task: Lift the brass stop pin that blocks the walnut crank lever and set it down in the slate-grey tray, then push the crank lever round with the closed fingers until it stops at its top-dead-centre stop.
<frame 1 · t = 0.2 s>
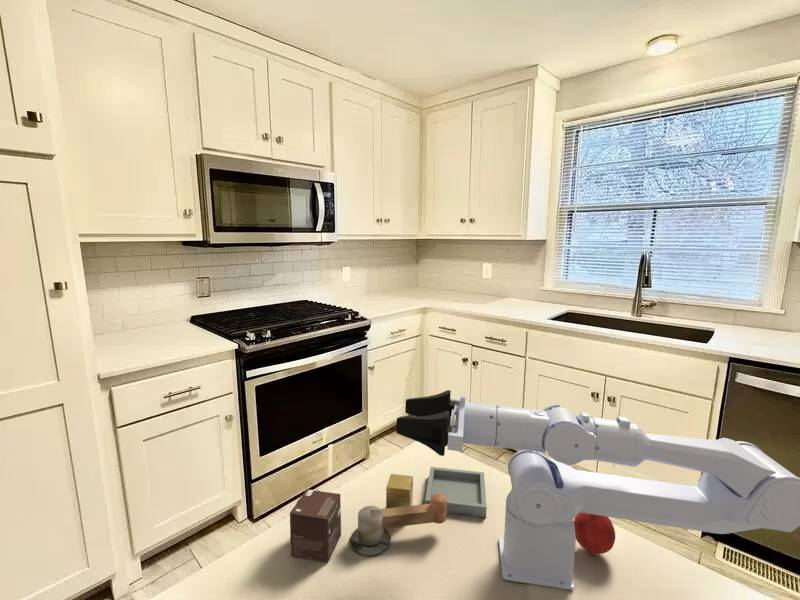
hand: (401, 415, 59), 21 cm above the counter, tool horizontal, fingers open, 7 cm apart
crank: (402, 517, 63), point 3 cm above the counter, hinge at 0.0°
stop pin: (399, 513, 69), on the counter
box: (316, 547, 61), on the counter
tray: (455, 495, 74), on the counter
crank base: (370, 540, 62), on the counter
onion: (591, 553, 61), on the counter
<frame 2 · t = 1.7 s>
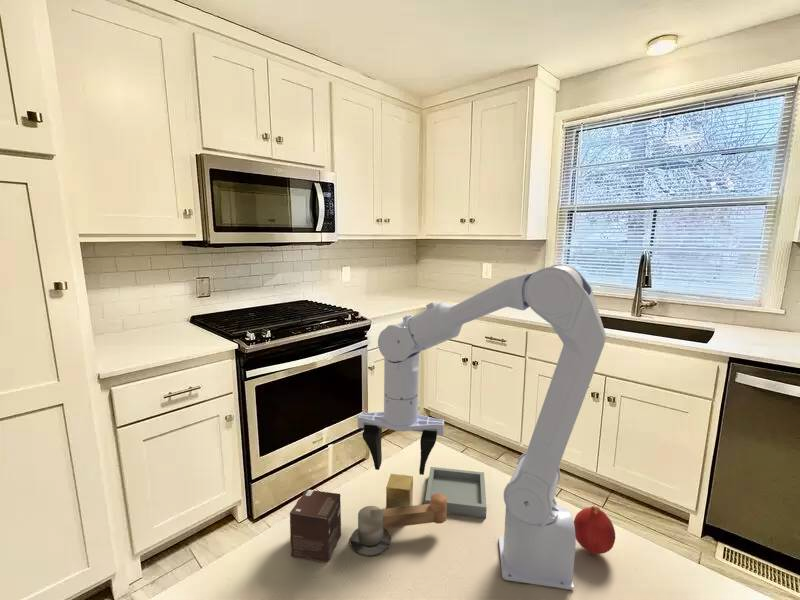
hand: (399, 469, 68), 8 cm above the counter, tool pointing down, fingers open, 7 cm apart
nothing on the counter moved.
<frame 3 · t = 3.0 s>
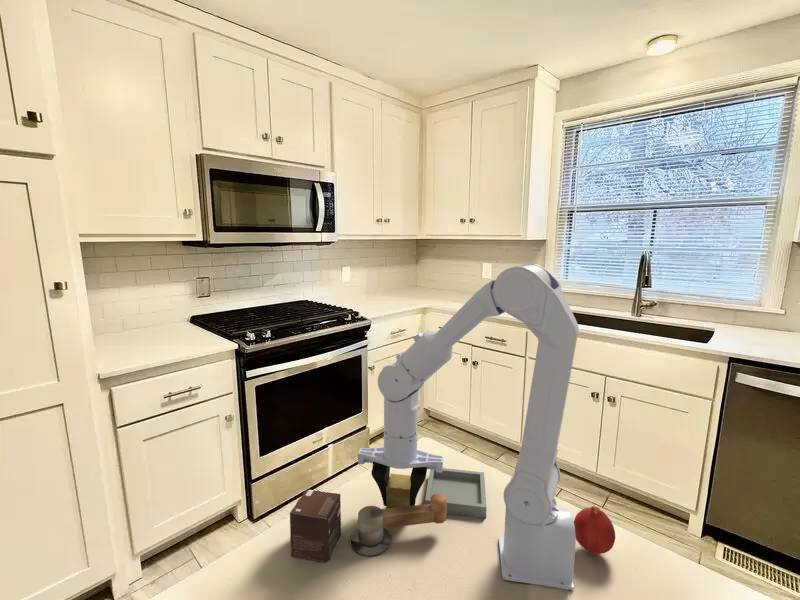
hand: (399, 503, 69), 2 cm above the counter, tool pointing down, fingers closed on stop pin, 4 cm apart
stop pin: (399, 512, 69), on the counter, touching gripper
everything else where it was.
when the fingers open (4 cm above the counter, at t = 6.5 s): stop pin drops 1 cm, resting on tray.
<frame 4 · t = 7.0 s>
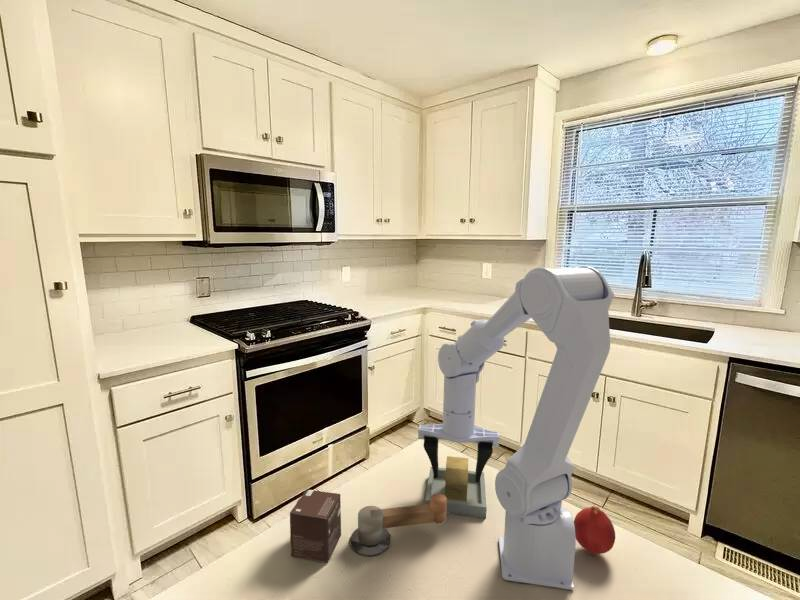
hand: (456, 476, 73), 4 cm above the counter, tool pointing down, fingers open, 7 cm apart
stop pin: (456, 492, 74), resting on tray
everything else where it was.
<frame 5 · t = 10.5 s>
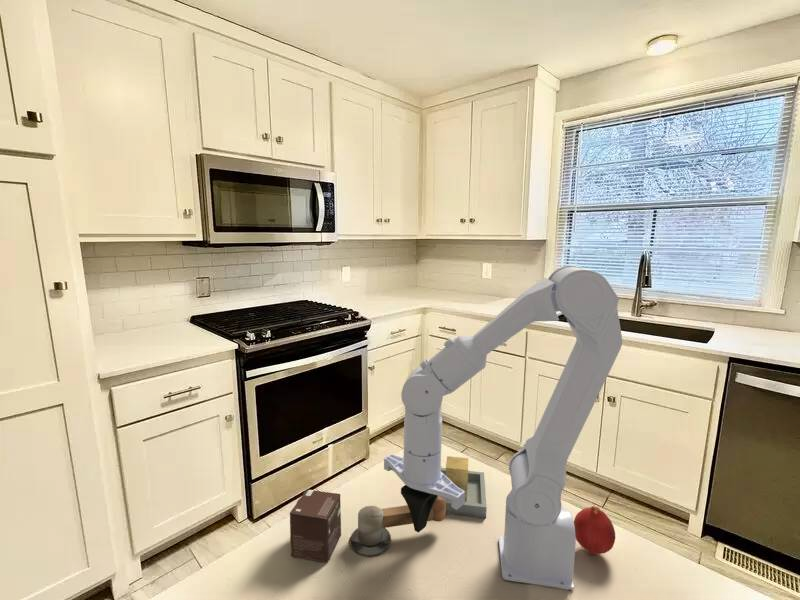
hand: (420, 528, 62), 3 cm above the counter, tool pointing down, fingers closed, pressing on crank
crank: (402, 516, 63), point 3 cm above the counter, hinge at 2.5°, touching gripper
everything else where it was.
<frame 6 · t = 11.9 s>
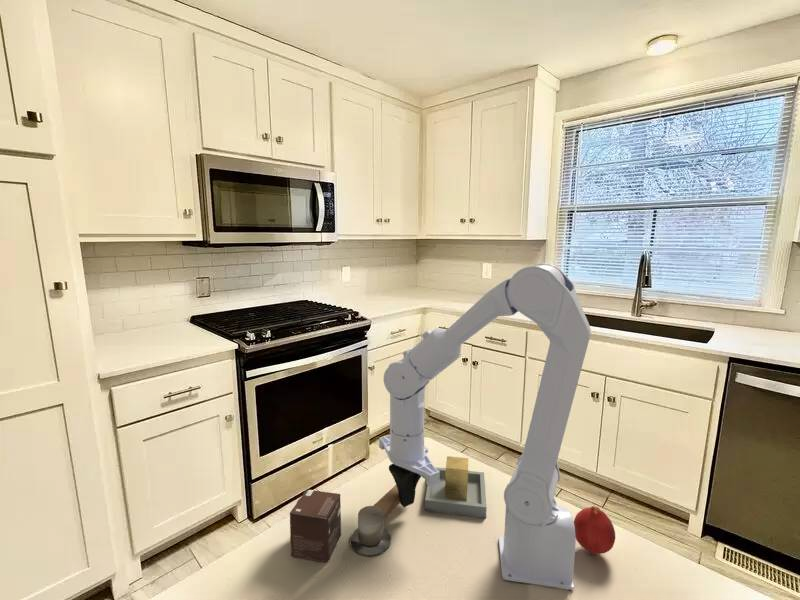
hand: (406, 503, 68), 3 cm above the counter, tool pointing down, fingers closed, pressing on crank
crank: (389, 503, 66), point 3 cm above the counter, hinge at 47.0°, touching gripper
everything else where it was.
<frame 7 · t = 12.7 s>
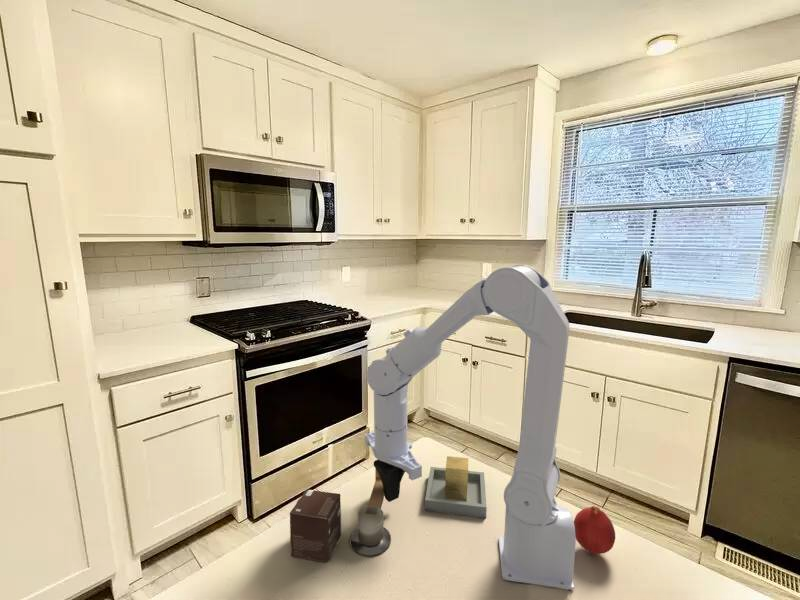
hand: (391, 498, 69), 2 cm above the counter, tool pointing down, fingers closed, pressing on crank
crank: (376, 500, 67), point 3 cm above the counter, hinge at 72.5°, touching gripper
everything else where it was.
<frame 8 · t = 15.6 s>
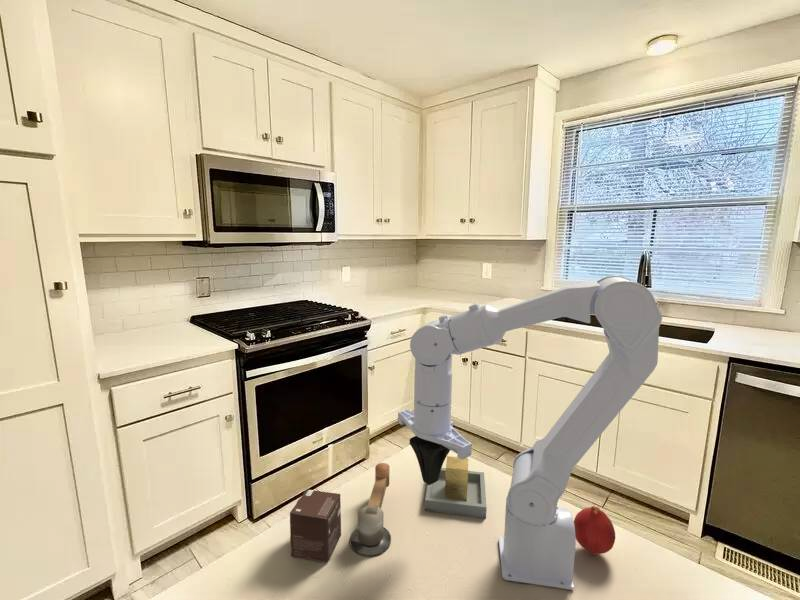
hand: (430, 481, 62), 9 cm above the counter, tool pointing down, fingers closed
crank: (376, 500, 67), point 3 cm above the counter, hinge at 72.6°
everything else where it was.
at the end: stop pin 0.0 cm off-centre on the tray, point 0.5 cm above the tray's base; crank at +73° (first picture: +0°); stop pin tilted 0° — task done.
